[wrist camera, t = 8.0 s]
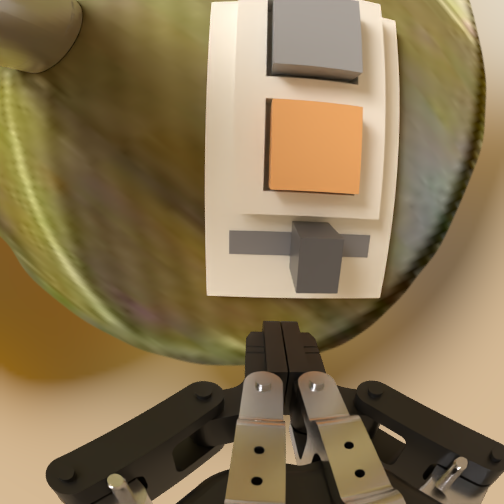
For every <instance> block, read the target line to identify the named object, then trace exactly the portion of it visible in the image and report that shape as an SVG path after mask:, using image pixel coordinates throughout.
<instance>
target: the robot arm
mask: <svg viewBox="0 0 504 504" xmlns="http://www.w3.org/2000/svg"><path fill="white" fill-rule="evenodd" d="M81 24H82V9H81V7H80V5H79V3H78V2H77V1H76V0H0V66H1V67H6V68H10V69H15V70H20V71H25V72H29V73H39V72H42V71H45V70H47V69H49V68H50V67H52V66H53V65H55V64H56V63H57V62H59V60H60V59H61V58H62V57H63V56H64V55H65V54H66V53H67V52H68V50H69V49H70V48H71V46H72V45H73V43H74V41H75V40H76V38H77V35H78V33H79V31H80V27H81ZM317 347H318V346H317V343H316V340H315V338H314V337H313V336H312V335H311V334H309V333H300V330H299V326H298V323H297V322H288V321H281V322H280V321H263V328H262V332H251V333H250V334H249V335H248V336H247V338H246V356H245V379H244V381H243V382H242V383H241V384H240V385H238V386H236V387H234V388H230V389H225V390H222V388H221V387H220V386H218V385H217V384H215V383H212V382H206V381H201V382H195V383H192V384H191V385H189V386H187V387H185V388H184V389H182V390H181V391H179V392H177V393H176V394H174V395H172V396H171V397H169V398H168V399H166V400H164V401H162V402H161V403H159V404H157V405H156V406H154V407H152V408H151V409H149V410H147V411H146V412H144V413H142V414H140V415H139V416H137V417H135V418H134V419H132V420H130V421H128V422H126V423H124V424H123V425H121V426H119V427H117V428H116V429H114V430H112V431H110V432H108V433H107V434H105V435H103V436H101V437H99V438H97V439H95V440H93V441H91V442H89V443H87V444H85V445H83V446H81V447H79V448H78V449H76V450H74V451H72V452H70V453H68V454H66V455H63V456H61V457H59V458H57V459H55V460H54V461H52V462H51V463H50V465H49V466H48V467H47V470H46V479H47V482H48V484H49V486H50V487H51V488H52V489H53V490H54V491H55V493H56V494H57V495H58V497H59V498H60V500H61V501H62V502H63V503H64V504H152V500H154V499H155V498H157V497H158V496H160V495H161V494H162V493H164V492H165V491H167V490H168V489H170V488H171V487H172V486H174V485H175V484H177V483H178V482H179V481H181V480H182V479H184V478H185V477H186V476H187V475H189V474H190V473H192V472H193V471H194V470H196V469H197V468H198V467H200V466H201V465H202V464H203V463H205V462H206V461H207V460H209V459H210V458H211V457H212V456H213V455H215V454H216V453H217V452H218V451H220V449H222V448H223V446H224V444H227V443H232V442H234V444H233V451H232V457H231V464H230V469H229V470H225V471H222V472H219V473H217V474H215V475H213V476H211V477H209V478H207V479H206V480H204V481H203V482H202V483H201V484H199V485H198V486H197V487H196V488H195V489H193V490H192V491H191V492H190V493H189V494H187V495H186V496H185V497H184V498H182V499H181V500H180V501H179V502H177V503H176V504H481V502H482V501H483V498H484V496H485V494H486V492H487V490H488V488H489V487H490V486H491V485H492V484H493V483H494V481H496V480H497V478H498V477H499V476H500V475H501V474H502V473H503V472H504V445H502V444H501V443H499V442H496V441H494V440H492V439H490V438H488V437H486V436H484V435H482V434H480V433H477V432H476V431H473V430H471V429H469V428H467V427H465V426H463V425H461V424H459V423H457V422H455V421H453V420H451V419H449V418H447V417H445V416H443V415H441V414H440V413H438V412H436V411H434V410H432V409H430V408H428V407H426V406H424V405H422V404H420V403H418V402H417V401H415V400H413V399H411V398H409V397H407V396H405V395H404V394H402V393H400V392H398V391H396V390H394V389H392V388H391V387H389V386H387V385H385V384H383V383H381V382H378V381H366V382H363V383H361V384H360V385H359V386H358V388H357V390H356V389H349V388H344V387H340V386H338V385H336V383H335V381H334V379H333V378H332V377H331V376H329V375H328V374H326V372H325V369H324V365H323V362H322V359H321V356H320V354H319V349H318V348H317ZM283 415H290V419H291V421H290V426H289V432H290V436H291V440H292V445H293V449H294V454H295V458H296V462H297V465H291V464H286V459H285V458H286V449H285V448H286V446H285V445H286V444H285V442H286V441H285V440H286V439H285V421H283ZM380 424H381V425H383V426H385V427H387V428H388V429H390V430H392V431H393V432H395V433H397V434H398V435H400V436H402V437H403V438H404V439H405V441H406V444H405V443H402V442H401V441H399V440H397V439H396V438H394V437H392V436H391V435H389V434H387V433H386V432H384V431H382V430H381V429H379V426H380Z"/></svg>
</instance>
